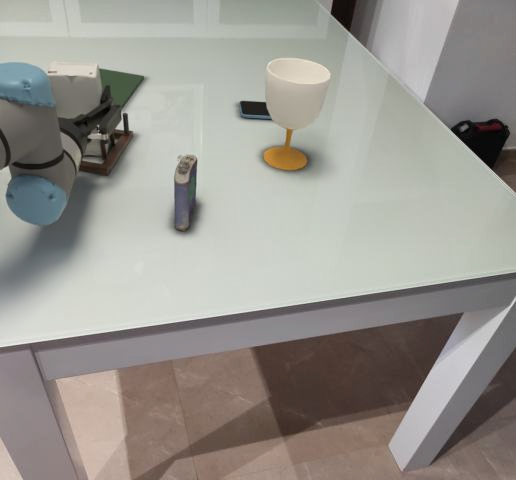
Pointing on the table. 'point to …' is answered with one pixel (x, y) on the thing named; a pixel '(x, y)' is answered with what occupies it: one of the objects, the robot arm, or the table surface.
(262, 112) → the smartphone
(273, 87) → the cup
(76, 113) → the cosmetic box
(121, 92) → the mat
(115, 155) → the rack
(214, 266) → the table surface
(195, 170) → the flask
